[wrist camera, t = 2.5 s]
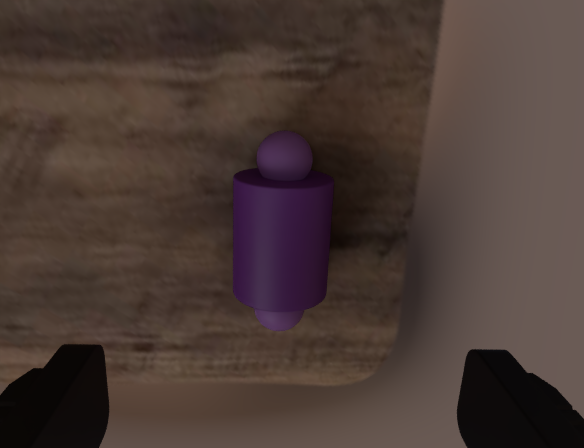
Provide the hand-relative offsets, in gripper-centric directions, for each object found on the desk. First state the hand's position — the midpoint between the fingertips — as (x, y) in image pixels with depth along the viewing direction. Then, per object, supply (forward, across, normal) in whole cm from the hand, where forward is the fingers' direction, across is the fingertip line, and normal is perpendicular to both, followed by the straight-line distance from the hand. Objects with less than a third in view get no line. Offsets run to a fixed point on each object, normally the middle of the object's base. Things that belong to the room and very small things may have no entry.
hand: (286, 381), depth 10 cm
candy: (+12, 0, 0) cm, 12 cm away
